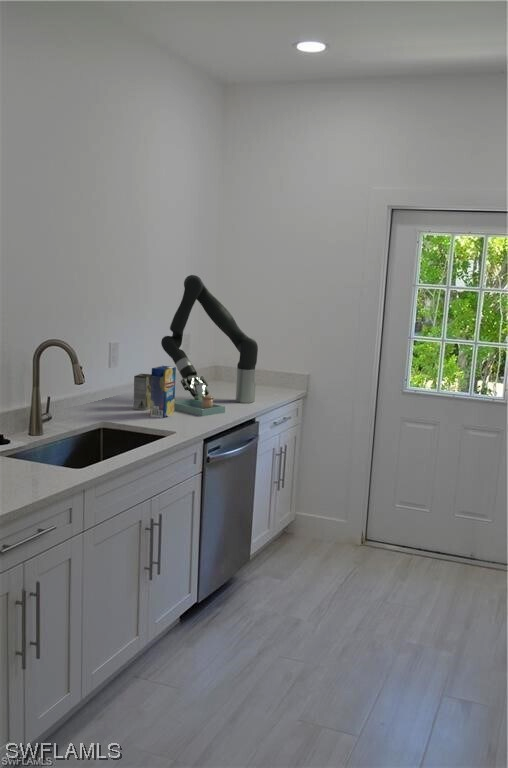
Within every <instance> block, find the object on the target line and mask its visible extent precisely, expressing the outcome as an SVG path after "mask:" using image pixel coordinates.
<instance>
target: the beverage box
mask: <svg viewBox="0 0 508 768" xmlns="http://www.w3.org/2000/svg"><path fill="white" fill-rule="evenodd" d="M176 372H177V367H176V366H169V365H160V366H156V367H152V368H151V374H152V376H151V405H150V408H149V410H150V411H149V413H150V414H149V416H150V417H151V418H152V417H153V418H159V417H160V419H166V418H168V417H169V415H172V414H173V413H175V410H174V402H175V399H176V397H175V395H176V377H177V376H176V375H177V373H176Z"/></svg>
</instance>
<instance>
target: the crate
mask: <svg viewBox="0 0 508 768" xmlns="http://www.w3.org/2000/svg"><path fill="white" fill-rule="evenodd" d="M174 411H179V412H181V413H187V414H191V415H195V416H196V415H197V416H199V417H206V416H213V415H219V414H225V413H226V406H225V405H220V404H217V403H213V408H208V409H202V401H199V400H194V398H191V399H184V400H176V401H175V402H174Z"/></svg>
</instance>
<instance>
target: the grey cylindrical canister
mask: <svg viewBox="0 0 508 768" xmlns="http://www.w3.org/2000/svg"><path fill="white" fill-rule="evenodd" d="M206 388H207V387H206V385H205V383H204V384H200V383H199V384H195V386H194V391H195V392H196V394H197V395H196V396H195V397H193V399H194V400H199V401H202V396H204V395H205V389H206Z"/></svg>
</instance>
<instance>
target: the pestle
mask: <svg viewBox="0 0 508 768" xmlns="http://www.w3.org/2000/svg"><path fill="white" fill-rule="evenodd" d="M213 404H214V396H213V395H209V394H208V395H204V396H202V409H208V408H213Z"/></svg>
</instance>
